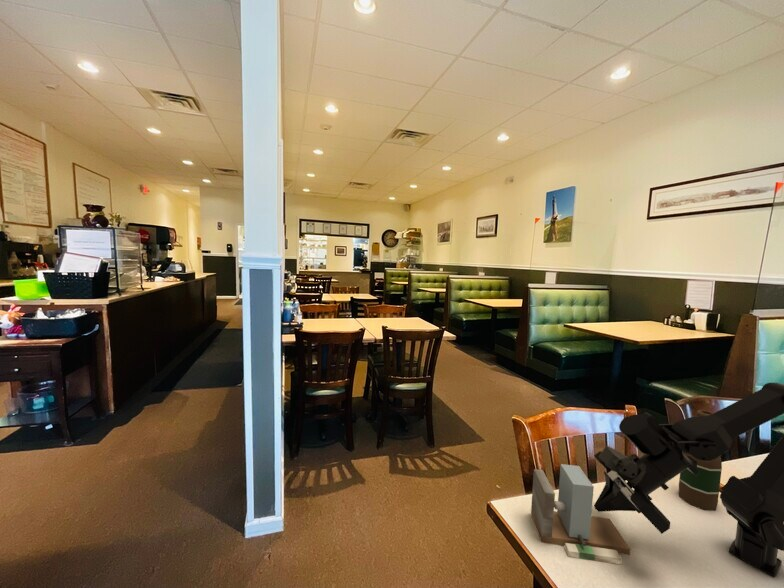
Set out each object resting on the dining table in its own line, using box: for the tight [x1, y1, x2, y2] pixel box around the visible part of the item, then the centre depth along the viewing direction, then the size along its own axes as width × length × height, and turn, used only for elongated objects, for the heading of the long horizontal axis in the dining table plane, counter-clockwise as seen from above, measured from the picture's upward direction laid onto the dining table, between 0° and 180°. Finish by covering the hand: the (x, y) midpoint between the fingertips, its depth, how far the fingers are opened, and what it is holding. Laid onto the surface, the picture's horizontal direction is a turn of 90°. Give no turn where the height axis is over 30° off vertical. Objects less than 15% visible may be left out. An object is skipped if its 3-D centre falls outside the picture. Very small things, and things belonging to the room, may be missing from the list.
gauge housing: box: [530, 468, 631, 565], centre depth 69 cm, size 18×11×12 cm, turn 81°
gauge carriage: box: [554, 463, 594, 546], centre depth 69 cm, size 6×9×12 cm, turn 171°
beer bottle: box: [678, 409, 723, 511], centre depth 81 cm, size 8×8×24 cm
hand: (596, 508), depth 70 cm, fingers closed
